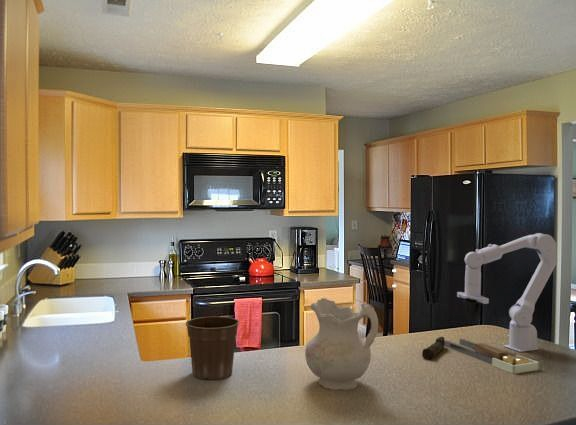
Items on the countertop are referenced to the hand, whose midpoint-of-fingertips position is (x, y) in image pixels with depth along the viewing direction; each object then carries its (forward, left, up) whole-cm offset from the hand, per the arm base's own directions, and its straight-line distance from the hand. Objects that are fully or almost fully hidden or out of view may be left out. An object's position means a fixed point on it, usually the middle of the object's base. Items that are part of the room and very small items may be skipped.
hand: (471, 319), depth 198 cm
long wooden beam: (+6, +16, -10) cm, 20 cm away
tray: (+6, +26, -10) cm, 29 cm away
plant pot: (+101, -2, -10) cm, 102 cm away
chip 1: (+6, +24, -10) cm, 27 cm away
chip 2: (+4, +27, -10) cm, 29 cm away
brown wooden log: (+20, +3, -10) cm, 23 cm away
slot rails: (+6, +9, -10) cm, 15 cm away
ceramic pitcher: (+68, +20, -10) cm, 72 cm away
